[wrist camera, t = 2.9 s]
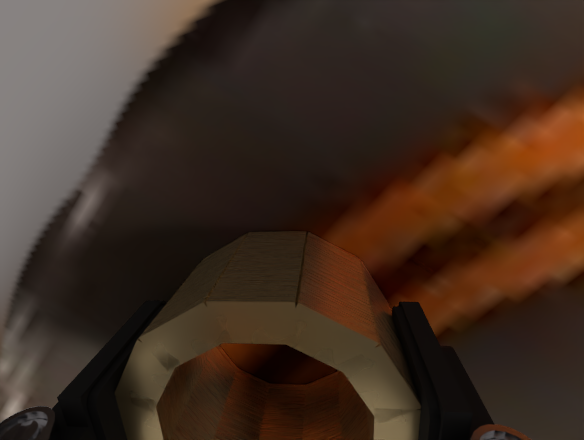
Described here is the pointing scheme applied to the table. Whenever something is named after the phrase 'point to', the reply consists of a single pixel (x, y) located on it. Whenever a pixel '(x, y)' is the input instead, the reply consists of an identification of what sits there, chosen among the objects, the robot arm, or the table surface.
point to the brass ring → (271, 330)
